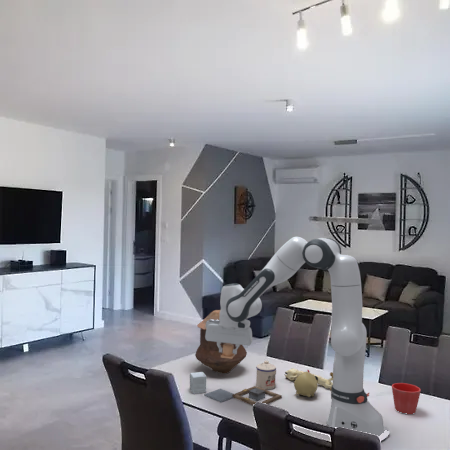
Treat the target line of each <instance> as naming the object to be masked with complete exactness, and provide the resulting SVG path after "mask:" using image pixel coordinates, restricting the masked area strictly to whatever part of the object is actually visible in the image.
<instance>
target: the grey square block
mask: <svg viewBox="0 0 450 450" xmlns="http://www.w3.org/2000/svg"><path fill="white" fill-rule="evenodd" d="M248 398H249V399H250V400H253V401H255V402H260V401H261V400H264V399H265V398H266V394H265V391H264V390H261V389H258V388H255V389H252V390H249V393H248Z"/></svg>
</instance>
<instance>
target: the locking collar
mask: <svg viewBox="0 0 450 450" xmlns="http://www.w3.org/2000/svg"><path fill="white" fill-rule="evenodd" d="M255 388H258V389H261V390H264V391H265V395H267V396H270V398H268V399H265V400H263V401H261V402H262V403H266V404H267V405H269V404H272V403H274V402H276V401H279V400H281V399H282V398H283V397H282V396H283V395H281V394H278V393H276V392H273V391H270V390H269V389H262V388H259V387H257V386H256V385H253V386H251V387H248V388H243V389H242V390H241V391H238V392H236V393H233V395H232V396H233V398H232V399H235V400H238V401H240V402H244V403H246V404H248V405H251V406H253V404H255V403H256V402H257V401H256V400H254V399H251V398H249V397H244V396H245V395H247V394H249V390H252V389H255Z"/></svg>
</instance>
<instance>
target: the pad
mask: <svg viewBox="0 0 450 450" xmlns="http://www.w3.org/2000/svg"><path fill="white" fill-rule="evenodd" d="M233 394H234V393H233V392H231V391H228V390H225V389H223V388H218V389H214V390H213V391H210V392H208V393H207V392H206V393H205V394H203V396H204V397H206V398H209V399H211V400H213V401H216V402H218V403H224V402H225V401H228V400H232V399H234V398H233V396H232V395H233Z"/></svg>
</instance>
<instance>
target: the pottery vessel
mask: <svg viewBox="0 0 450 450" xmlns="http://www.w3.org/2000/svg"><path fill="white" fill-rule="evenodd" d="M220 310H221V309H215V310H212V311H211V312H209V314H208V315H207V316H206V317H205V318H204V319H202V321H200V322H199V323H197V325H196V326H197V328H199V329H200V332H199V333H200V334H199V335H200V336H199V346H198V347H197V349H196V351H195V354H194V356H195V359H196V360H197V361H199V362H200V363H201V364H203V365H204V366H206V367H207V368H208V369H211V371H213V372H214V373H218V374H229V373H231V372H232V370H233V369H235V368H236V367H237V366H238V365H239V364H240V363H241V362H242V361H243V360H244V359H246V357H247V355H248V352H247V350H246V348H245V347H244V345H240V346H239V347H238V349H237V354H235V356H234V357H233V358H232V359H229V358H221V355H222V354H223V353H221V352H219V348H218V346H217V342H214V341H207V340H206V339H205V334H206V329H207V328H206V322H207V320H209V319H213V320H219V316H220ZM223 344H225V343H222V342H221V344H220V345H221V347H222V348H223ZM229 344H230V343H229ZM233 345H234V349H236V344H233Z"/></svg>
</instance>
